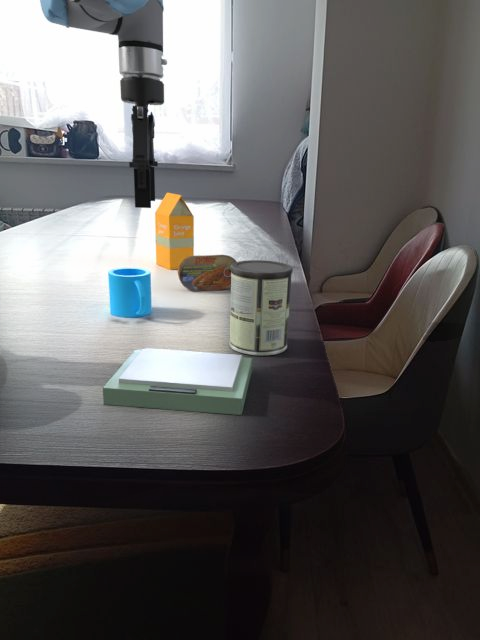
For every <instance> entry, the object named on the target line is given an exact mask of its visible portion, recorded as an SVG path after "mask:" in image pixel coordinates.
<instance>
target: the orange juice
mask: <svg viewBox="0 0 480 640" xmlns="http://www.w3.org/2000/svg"><path fill="white" fill-rule="evenodd" d="M194 217H195V215H193V213H192V211H191V210H190V208H189V206H188V205H187V203H186V202H185V200H184V198H183V196H182V194H177V193H172V192H166V194H164V197H163V199H162V200H161V201H160V204H159V205H158V207H157V209H156V211H154V224H155V227H154V228H155V263H156V265H157V264H158V265H157V266H160V267H162V268H164V267H165V268H164V269H166V270H169V271H172V269H174V270H178V268H179V265H180V263H181V262H182V261H183V260H184V259H185V258H187V257H189V256H195V253H194V252H195V251H194V250H195V249H194V247H195V237H194V235H195V234H194V233H195V231H194V230H195V229H194V228H195V224H194V223H195V221H194Z"/></svg>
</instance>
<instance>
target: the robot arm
mask: <svg viewBox="0 0 480 640" xmlns="http://www.w3.org/2000/svg"><path fill="white" fill-rule="evenodd" d="M39 2H40V8H41V11H42V14H43V16H44V18H45V19H46V20H47V21H48V22H49V23H51V24H54V25H55V24H56V25H60V26H63V27H65V28H68V29H70V28H73V29H78V30H79V29H80V30H85V31H90V32H96V33H101V34H102V33H103V34H107V35H111V36H116V37H117V40H118V41H117V42H118V66H119V67H118V68H119V75H121V76H122V78H120V80H119V83H120V84H119V86H120V87H119V88H120V100H121V101H122V102H123V103H126V104H130V105H131V104H132V107H131V111H132V113H131V114H130V120H131V133H132V159H131V161H128V164H129V165H128V166H129V169H133V186H134V190H133V191H134V208H137V209H139V208H140V209H143V208H144V209H151V208H152V202H156V177H155V175H156V174H155V167H159V166H158V165H159V161H158V160H156V158H155V149H154V148H155V147H154V139H155V127H156V116H155V115H154V114H153V112H152V111H151V106H163V105H164V104H165V84H164V82H163V81H162V80H161V79H163V78H164V76H165V75H164V74H165V73H164V66H167V65H168V60H167V59H166V58H164V10H165V8H164V0H39Z"/></svg>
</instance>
